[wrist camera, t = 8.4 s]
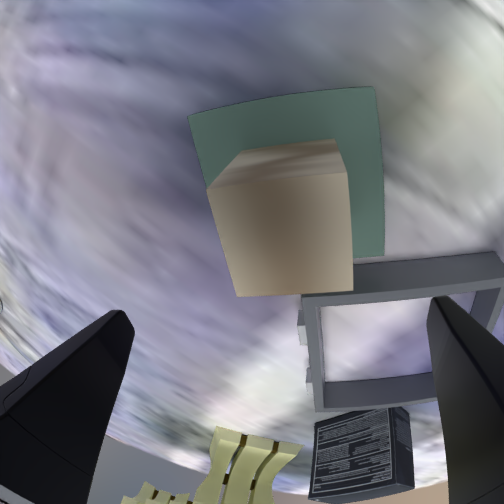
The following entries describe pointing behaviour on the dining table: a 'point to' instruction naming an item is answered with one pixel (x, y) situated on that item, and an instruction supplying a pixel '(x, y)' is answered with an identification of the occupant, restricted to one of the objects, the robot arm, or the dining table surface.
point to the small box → (362, 456)
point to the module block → (285, 219)
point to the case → (393, 289)
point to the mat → (301, 130)
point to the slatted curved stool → (231, 472)
